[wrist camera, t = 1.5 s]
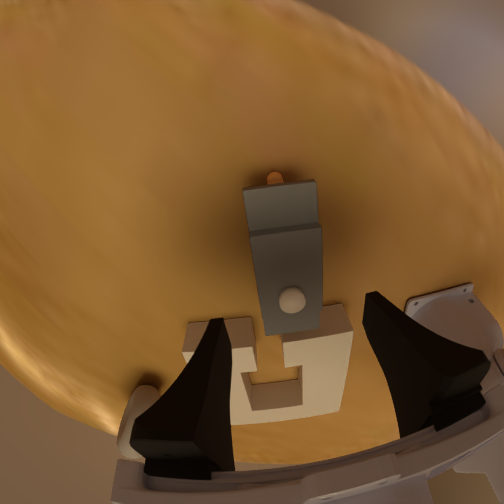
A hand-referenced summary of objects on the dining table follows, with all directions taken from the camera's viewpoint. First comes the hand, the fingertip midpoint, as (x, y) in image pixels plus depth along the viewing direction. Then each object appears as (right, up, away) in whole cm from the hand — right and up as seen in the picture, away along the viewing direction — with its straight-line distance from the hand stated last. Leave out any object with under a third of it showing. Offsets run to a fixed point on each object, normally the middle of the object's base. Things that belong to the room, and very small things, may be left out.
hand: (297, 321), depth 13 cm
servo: (0, +4, +8) cm, 9 cm away
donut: (-15, -14, +17) cm, 27 cm away
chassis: (0, -8, +14) cm, 16 cm away
